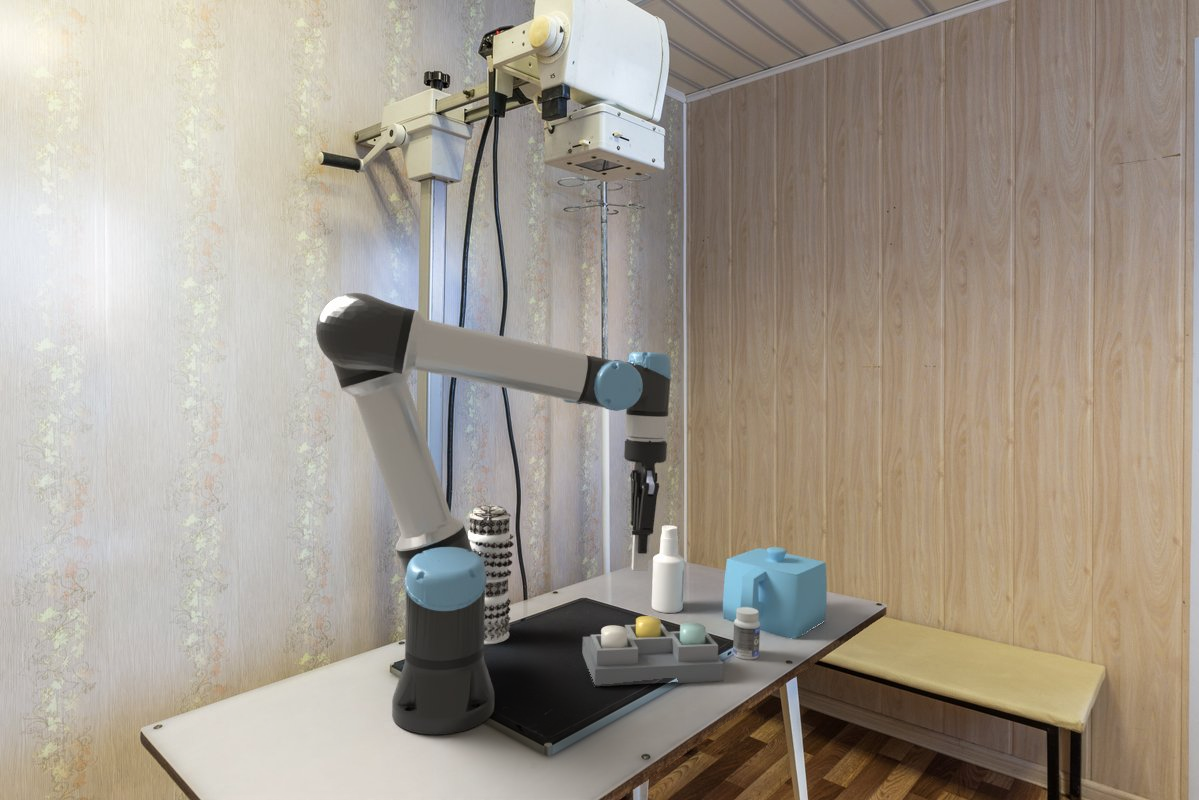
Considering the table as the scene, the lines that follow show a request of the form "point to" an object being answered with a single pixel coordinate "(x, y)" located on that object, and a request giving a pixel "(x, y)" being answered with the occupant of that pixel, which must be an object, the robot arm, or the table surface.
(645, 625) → the button mustard
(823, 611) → the container
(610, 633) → the button ivory
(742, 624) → the pill bottle
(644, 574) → the table surface
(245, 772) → the table surface
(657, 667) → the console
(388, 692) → the table surface
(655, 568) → the spray bottle
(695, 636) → the button teal
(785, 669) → the table surface
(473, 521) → the decorative candle
